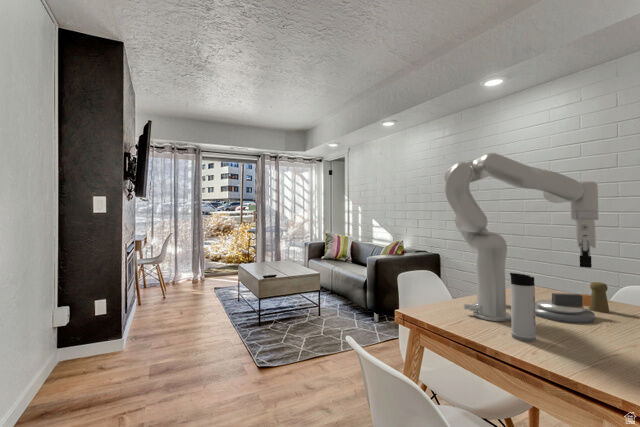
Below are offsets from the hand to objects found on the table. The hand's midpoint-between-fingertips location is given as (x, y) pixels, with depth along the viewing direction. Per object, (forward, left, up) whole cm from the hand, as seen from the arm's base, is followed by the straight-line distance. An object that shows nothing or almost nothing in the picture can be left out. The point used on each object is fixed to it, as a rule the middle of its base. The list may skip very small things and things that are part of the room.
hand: (585, 266), depth 112 cm
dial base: (-6, +6, -19) cm, 21 cm away
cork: (+12, +14, -19) cm, 27 cm away
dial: (-4, +6, -17) cm, 18 cm away
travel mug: (-30, -21, -19) cm, 41 cm away
